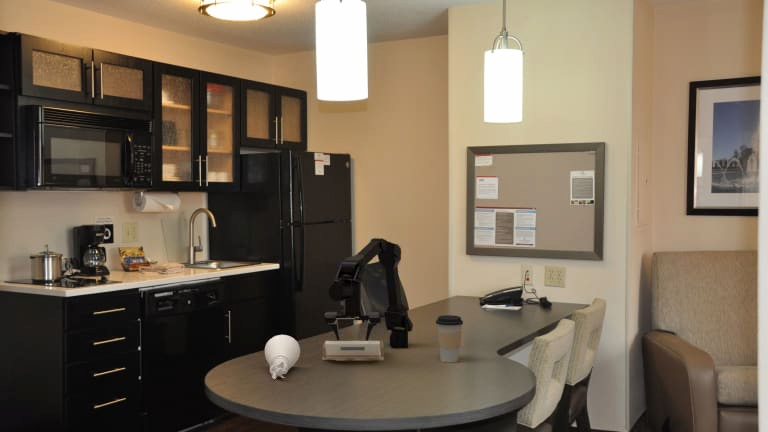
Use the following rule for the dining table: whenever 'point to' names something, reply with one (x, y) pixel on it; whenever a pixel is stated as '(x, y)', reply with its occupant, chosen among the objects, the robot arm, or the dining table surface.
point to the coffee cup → (449, 337)
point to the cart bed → (381, 357)
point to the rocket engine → (281, 354)
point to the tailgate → (352, 349)
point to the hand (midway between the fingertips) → (352, 343)
